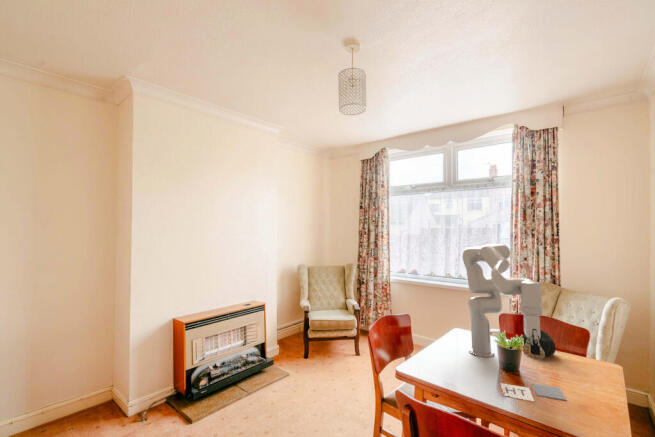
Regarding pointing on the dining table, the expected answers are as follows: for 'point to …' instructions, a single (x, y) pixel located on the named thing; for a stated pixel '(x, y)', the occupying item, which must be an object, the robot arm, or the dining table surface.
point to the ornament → (528, 350)
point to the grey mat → (548, 392)
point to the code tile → (517, 392)
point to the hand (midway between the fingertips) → (533, 350)
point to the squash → (545, 343)
